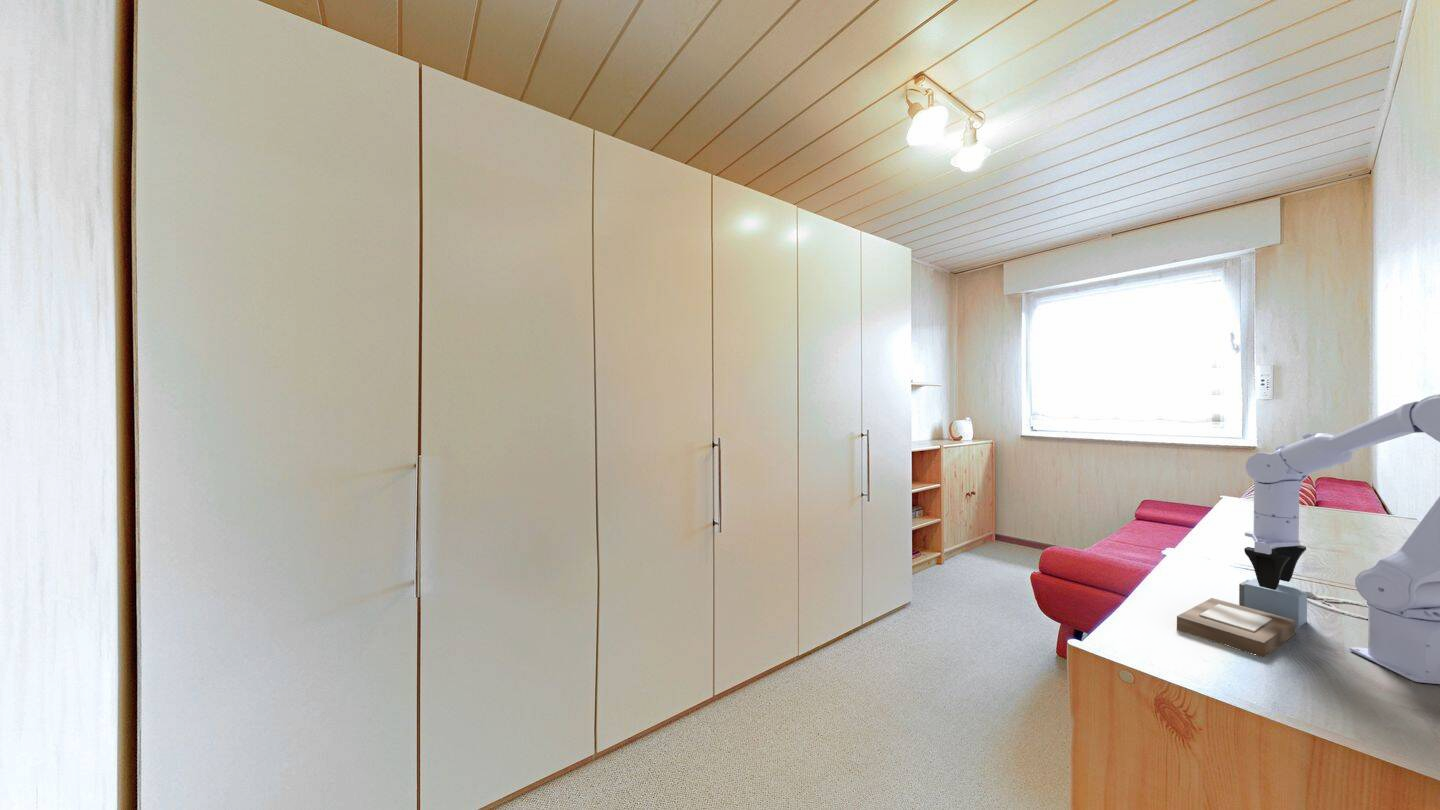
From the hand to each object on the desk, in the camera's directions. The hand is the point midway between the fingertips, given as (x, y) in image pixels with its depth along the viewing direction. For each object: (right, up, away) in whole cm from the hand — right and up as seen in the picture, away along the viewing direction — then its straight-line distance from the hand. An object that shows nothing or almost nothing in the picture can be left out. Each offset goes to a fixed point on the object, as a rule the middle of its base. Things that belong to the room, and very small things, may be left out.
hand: (1274, 583), depth 93 cm
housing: (0, -7, 0) cm, 7 cm away
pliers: (+17, -7, +7) cm, 19 cm away
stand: (-13, -7, -5) cm, 16 cm away
